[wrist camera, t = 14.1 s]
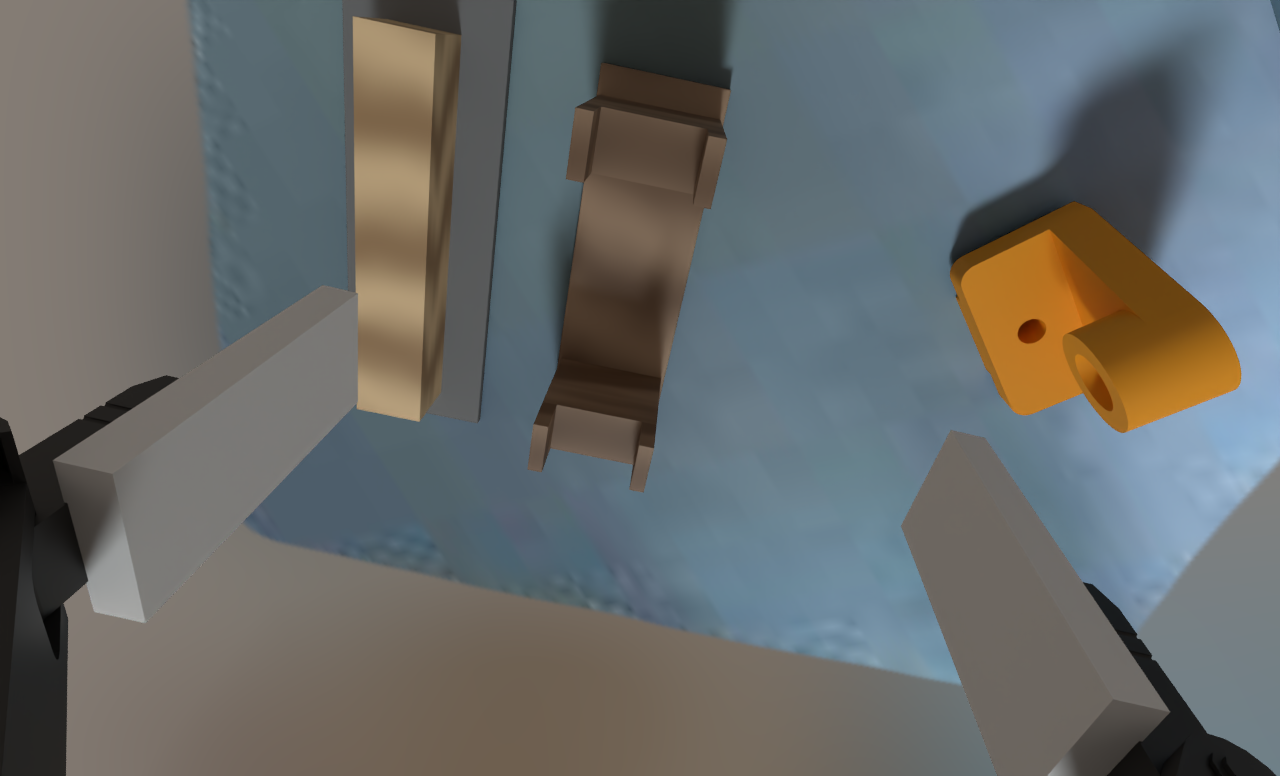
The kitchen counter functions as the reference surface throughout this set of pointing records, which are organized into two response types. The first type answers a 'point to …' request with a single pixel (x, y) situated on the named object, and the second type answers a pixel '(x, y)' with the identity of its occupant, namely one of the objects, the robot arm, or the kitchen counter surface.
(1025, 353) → the orange hinge mount
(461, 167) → the mat
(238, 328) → the kitchen counter surface
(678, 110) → the bracket
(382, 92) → the rail
